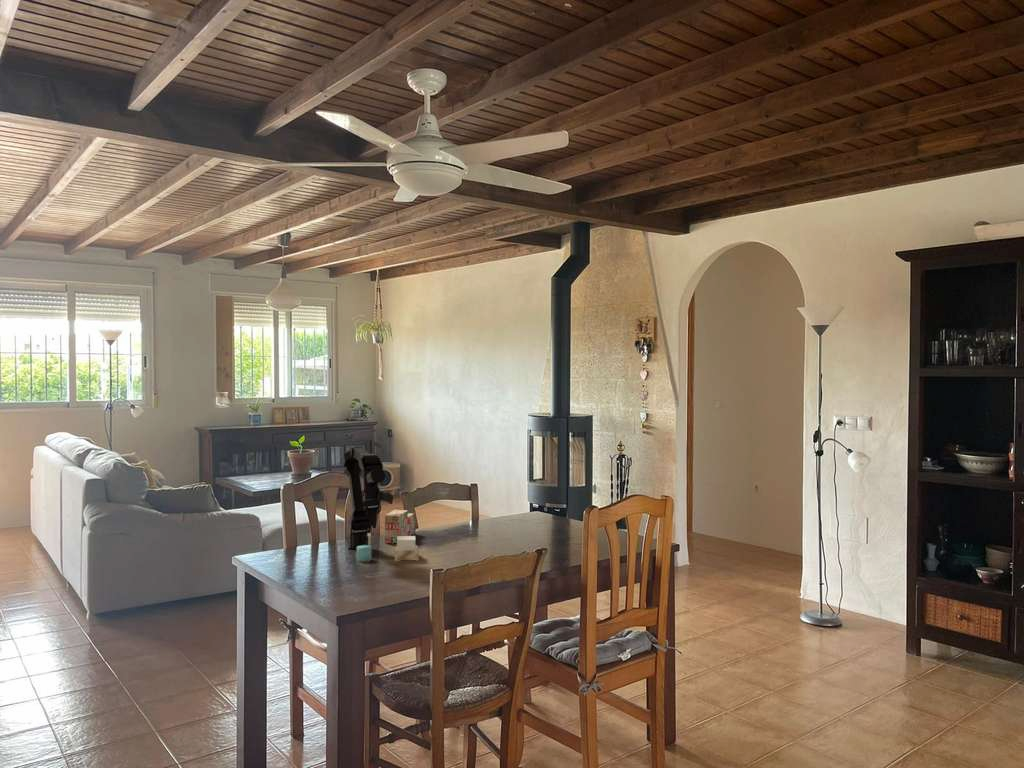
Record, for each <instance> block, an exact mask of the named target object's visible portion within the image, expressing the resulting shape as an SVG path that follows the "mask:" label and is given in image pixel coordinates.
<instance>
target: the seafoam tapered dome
mask: <svg viewBox="0 0 1024 768" xmlns="http://www.w3.org/2000/svg"><path fill="white" fill-rule="evenodd" d="M356 561H357V562H360V563H362V562H363V563H364V562H371V561H372V546H371V545H369V544H368V545H362V546H357V550H356Z"/></svg>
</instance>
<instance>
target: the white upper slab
mask: <svg viewBox="0 0 1024 768" xmlns="http://www.w3.org/2000/svg"><path fill="white" fill-rule="evenodd" d="M396 546H397V551H405V550H415V546H416V535H412V536H397V544H396Z"/></svg>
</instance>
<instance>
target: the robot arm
mask: <svg viewBox="0 0 1024 768" xmlns="http://www.w3.org/2000/svg"><path fill="white" fill-rule="evenodd" d="M341 466H342V468H343V473H344V474H345V475H346V476H347V477H348V482H349V489H350V499H351V506H352V512H351V514H350V516H349V521H348V524H347V526H346V533H347V534H348V535H349V541H350V542H349V547H347V549H348V550H354V551H355V550H356V551H357V546H362V545H368V546H369V535H368V534H371V532H372V529H376V528H377V523H378V515H379V514H380V512H381V511H382V502H384V503H387V504H389V505H393V503H394V499H395V495H394V494H392V493H390V492H382V491H381V489H380V485H379V484H381V483H383V482H384V481H385V480H386V472H385V471H384V465H383V462H382V460H381V459H380V457H379V455H378V454H377V453H369V452H368V451H367V450H365V449H364V447H363V446H352V447H350V448H349V450H348V451H347V452H345V453H344V454H343V456H342V458H341ZM361 472H364V473H363V474H362V479H363V483H362V482H361V481H362V480H361V476H360V475H361ZM362 484H363V488H362ZM362 489H363V491H362ZM363 494H364V498H363Z"/></svg>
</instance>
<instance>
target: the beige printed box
mask: <svg viewBox="0 0 1024 768" xmlns="http://www.w3.org/2000/svg"><path fill="white" fill-rule="evenodd" d="M412 534H413V535H415V513H412V512H411V513H410V512H409V510H408V509H407V510H404V509H393V510H392V511H390V512H389V513H387V514H385V515H384V544H385V543H397V536H411V535H412ZM413 535H412V536H413Z"/></svg>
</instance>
